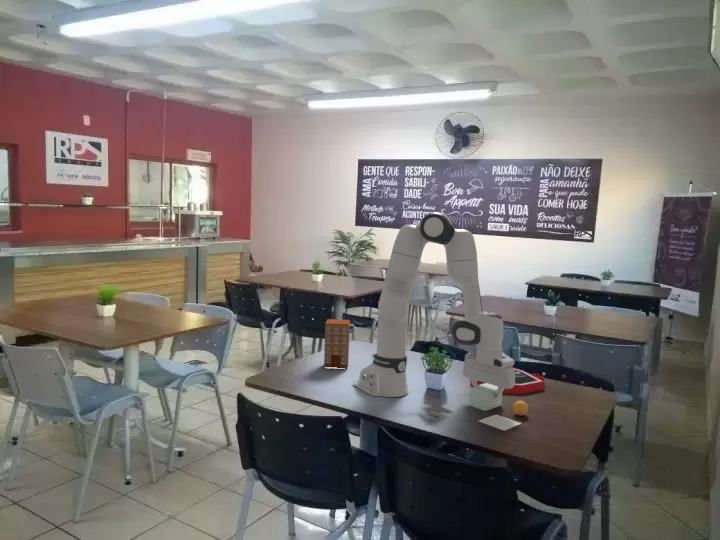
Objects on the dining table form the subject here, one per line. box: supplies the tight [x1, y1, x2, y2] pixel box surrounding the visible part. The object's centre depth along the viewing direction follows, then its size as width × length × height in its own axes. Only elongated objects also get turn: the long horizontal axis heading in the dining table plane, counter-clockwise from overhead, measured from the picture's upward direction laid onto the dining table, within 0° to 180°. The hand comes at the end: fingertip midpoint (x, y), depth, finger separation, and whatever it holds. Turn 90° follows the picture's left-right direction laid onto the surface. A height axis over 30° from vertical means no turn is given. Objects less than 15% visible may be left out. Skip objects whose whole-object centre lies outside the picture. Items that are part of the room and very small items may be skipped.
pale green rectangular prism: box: [468, 383, 503, 412], centre depth 201 cm, size 7×10×7 cm
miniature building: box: [323, 318, 351, 370], centre depth 242 cm, size 10×9×20 cm
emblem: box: [470, 367, 545, 395], centre depth 231 cm, size 30×4×30 cm
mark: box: [478, 414, 522, 432], centre depth 186 cm, size 10×10×1 cm
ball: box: [512, 400, 529, 416], centre depth 193 cm, size 5×5×5 cm
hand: (486, 394), depth 202 cm, fingers open, 8 cm apart
